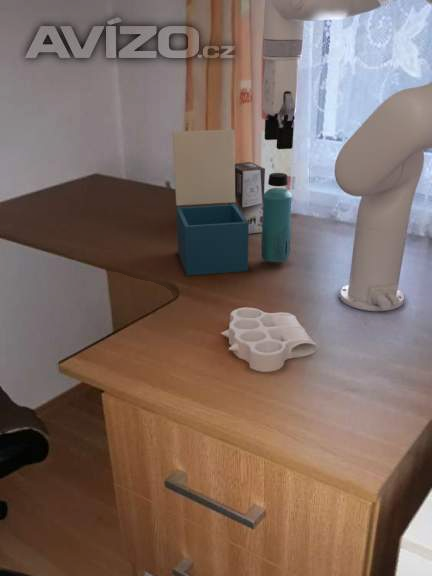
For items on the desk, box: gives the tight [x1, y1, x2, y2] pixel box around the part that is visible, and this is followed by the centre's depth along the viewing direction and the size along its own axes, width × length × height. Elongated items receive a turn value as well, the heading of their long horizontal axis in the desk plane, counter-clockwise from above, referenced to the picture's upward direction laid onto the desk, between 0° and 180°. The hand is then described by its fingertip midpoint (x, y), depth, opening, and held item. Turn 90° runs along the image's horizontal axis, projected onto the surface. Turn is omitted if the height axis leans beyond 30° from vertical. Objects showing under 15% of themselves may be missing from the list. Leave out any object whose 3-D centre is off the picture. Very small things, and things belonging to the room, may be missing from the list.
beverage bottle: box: [260, 172, 293, 263], centre depth 134 cm, size 6×7×20 cm
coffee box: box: [228, 161, 266, 235], centre depth 157 cm, size 9×6×16 cm
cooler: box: [176, 203, 250, 276], centre depth 138 cm, size 15×14×11 cm
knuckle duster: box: [219, 307, 317, 373], centre depth 105 cm, size 3×18×15 cm
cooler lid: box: [171, 129, 236, 207], centre depth 140 cm, size 16×14×5 cm
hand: (277, 144), depth 126 cm, fingers open, 9 cm apart
